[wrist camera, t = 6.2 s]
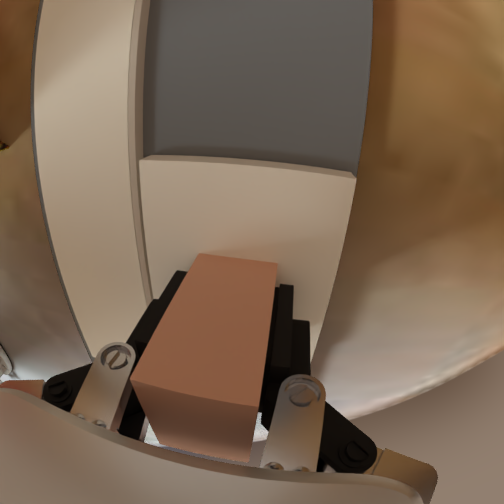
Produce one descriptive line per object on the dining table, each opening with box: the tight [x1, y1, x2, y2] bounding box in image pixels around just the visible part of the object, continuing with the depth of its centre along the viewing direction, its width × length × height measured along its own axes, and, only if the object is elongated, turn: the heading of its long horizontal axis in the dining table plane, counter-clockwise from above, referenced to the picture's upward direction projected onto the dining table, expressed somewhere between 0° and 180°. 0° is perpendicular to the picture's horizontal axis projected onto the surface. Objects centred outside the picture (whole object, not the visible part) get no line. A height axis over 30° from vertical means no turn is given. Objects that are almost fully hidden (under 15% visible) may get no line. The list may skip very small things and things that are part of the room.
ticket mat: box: [31, 0, 373, 362], centre depth 12 cm, size 26×15×2 cm, turn 176°
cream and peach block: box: [130, 155, 357, 462], centre depth 10 cm, size 11×8×7 cm
